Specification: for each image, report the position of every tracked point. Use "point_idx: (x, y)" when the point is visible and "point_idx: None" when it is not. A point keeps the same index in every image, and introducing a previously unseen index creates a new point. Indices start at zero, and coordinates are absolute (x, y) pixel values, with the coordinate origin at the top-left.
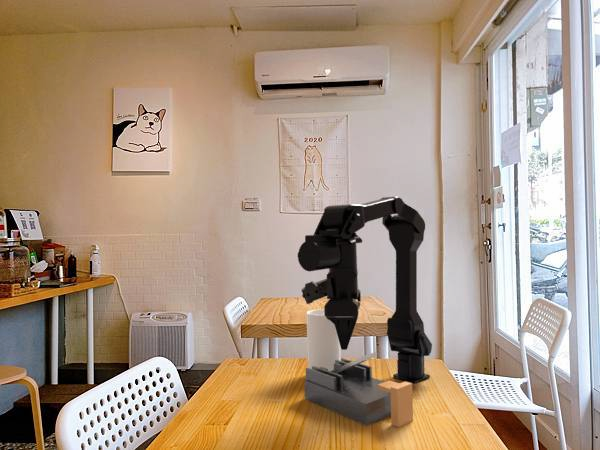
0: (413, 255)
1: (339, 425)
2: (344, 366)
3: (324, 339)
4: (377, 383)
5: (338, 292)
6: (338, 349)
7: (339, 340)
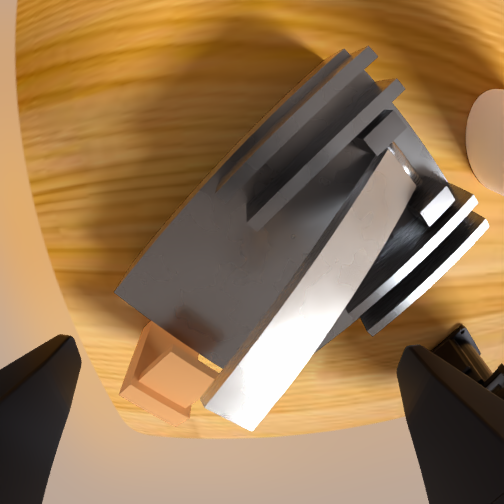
0: None
1: (121, 190)
2: (318, 250)
3: None
4: None
5: None
6: None
7: (9, 367)
